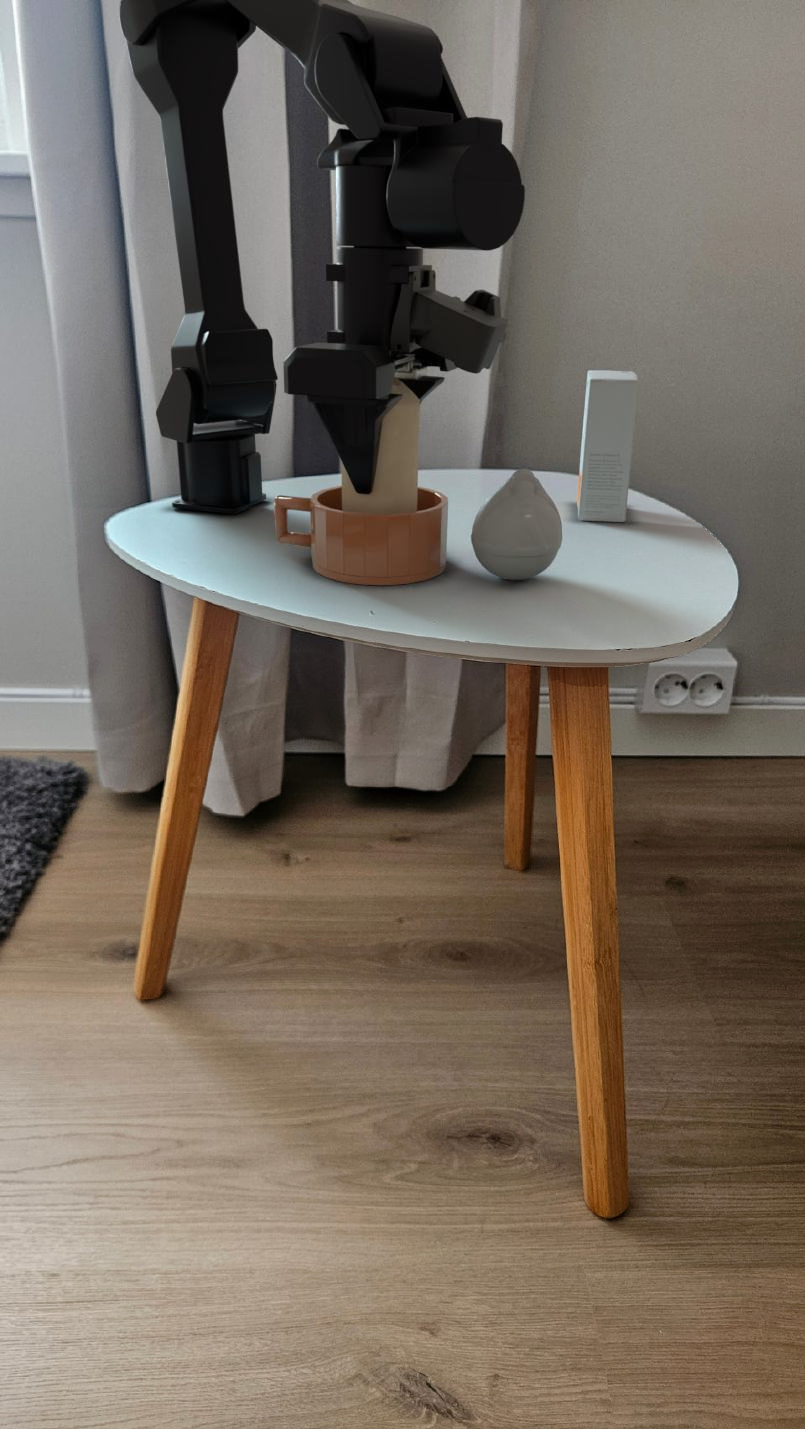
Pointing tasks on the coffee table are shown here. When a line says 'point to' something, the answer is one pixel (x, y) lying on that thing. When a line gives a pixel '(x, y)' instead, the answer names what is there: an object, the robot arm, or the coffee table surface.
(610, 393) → the cosmetic box
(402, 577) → the coffee cup
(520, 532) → the grey teardrop shape
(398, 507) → the candle
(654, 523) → the coffee table surface
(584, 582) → the coffee table surface
